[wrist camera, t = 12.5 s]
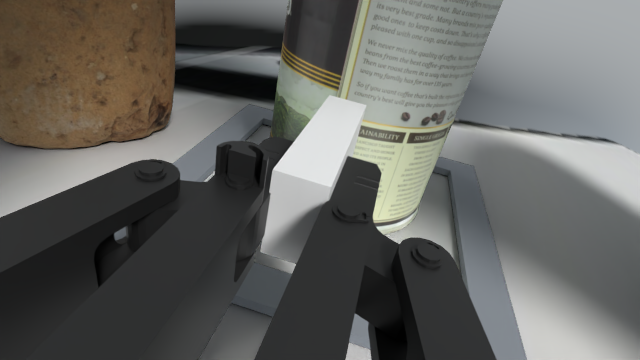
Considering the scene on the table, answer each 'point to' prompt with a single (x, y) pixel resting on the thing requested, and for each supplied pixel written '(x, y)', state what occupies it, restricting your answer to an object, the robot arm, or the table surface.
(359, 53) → the coffee can
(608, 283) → the table surface
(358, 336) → the flat grey frame
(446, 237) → the table surface
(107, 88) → the brown rough upright block
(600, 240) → the table surface
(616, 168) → the table surface
